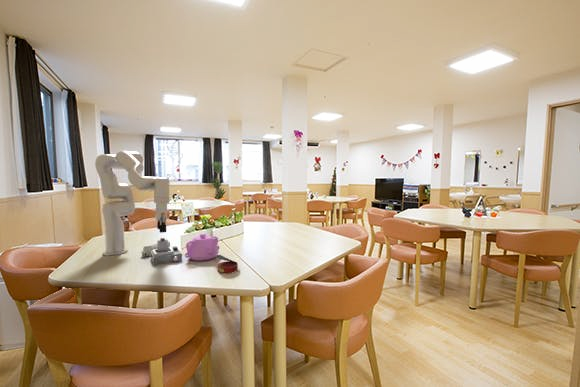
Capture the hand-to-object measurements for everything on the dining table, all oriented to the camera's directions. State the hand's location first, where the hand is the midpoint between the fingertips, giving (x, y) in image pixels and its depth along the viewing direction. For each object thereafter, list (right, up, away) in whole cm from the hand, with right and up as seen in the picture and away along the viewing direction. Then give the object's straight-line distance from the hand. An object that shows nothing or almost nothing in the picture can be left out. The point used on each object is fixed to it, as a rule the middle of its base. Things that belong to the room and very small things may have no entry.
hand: (161, 230), depth 142 cm
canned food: (+40, -18, -15) cm, 47 cm away
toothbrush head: (-12, -16, +18) cm, 27 cm away
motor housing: (+3, -17, 0) cm, 17 cm away
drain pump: (+1, -13, 0) cm, 13 cm away
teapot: (+23, -17, +4) cm, 29 cm away
